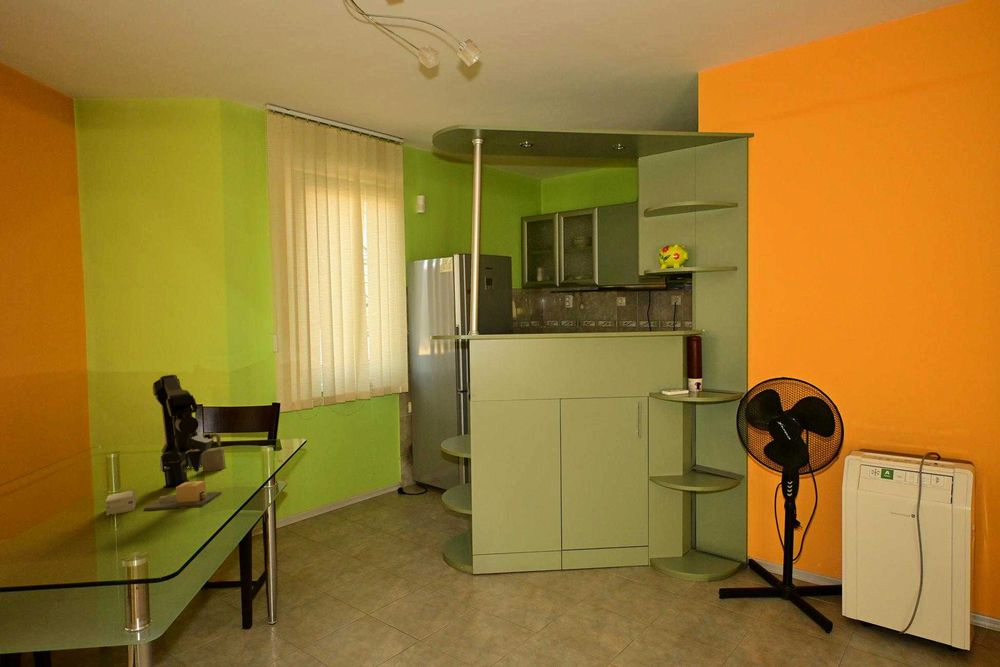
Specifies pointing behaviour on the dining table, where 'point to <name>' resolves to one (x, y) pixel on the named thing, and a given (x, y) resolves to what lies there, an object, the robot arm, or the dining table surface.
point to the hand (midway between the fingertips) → (189, 475)
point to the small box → (120, 502)
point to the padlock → (213, 457)
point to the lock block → (190, 491)
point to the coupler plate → (172, 502)
